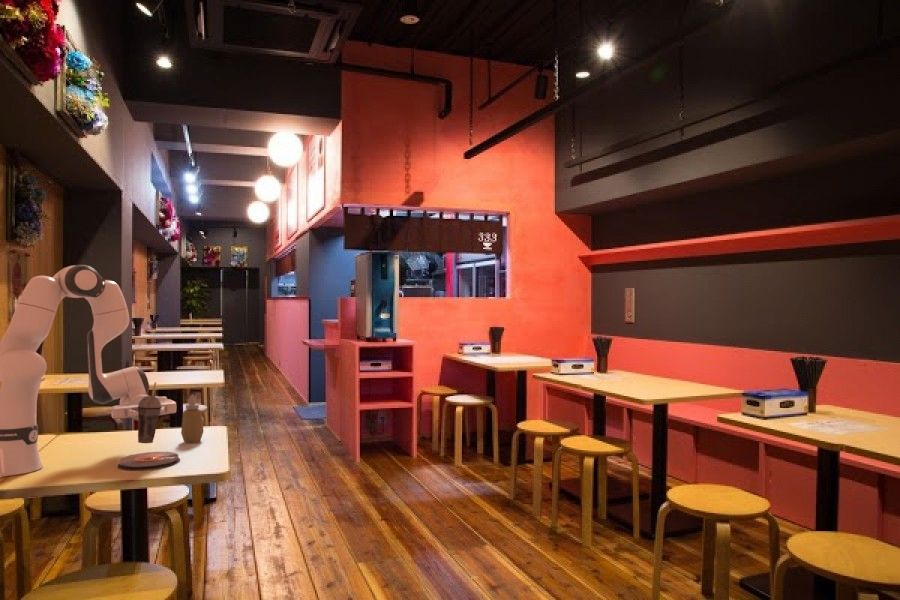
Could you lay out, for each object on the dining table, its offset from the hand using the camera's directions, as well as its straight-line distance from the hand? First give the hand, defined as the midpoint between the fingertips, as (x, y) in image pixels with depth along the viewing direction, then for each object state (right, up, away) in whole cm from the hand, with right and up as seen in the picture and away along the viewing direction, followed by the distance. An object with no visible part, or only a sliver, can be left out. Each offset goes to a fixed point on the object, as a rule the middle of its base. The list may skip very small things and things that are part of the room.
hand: (149, 412), depth 211 cm
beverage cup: (-1, -10, 0) cm, 10 cm away
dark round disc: (0, -17, 0) cm, 17 cm away
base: (0, -17, 0) cm, 17 cm away
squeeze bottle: (+1, -17, +33) cm, 37 cm away
